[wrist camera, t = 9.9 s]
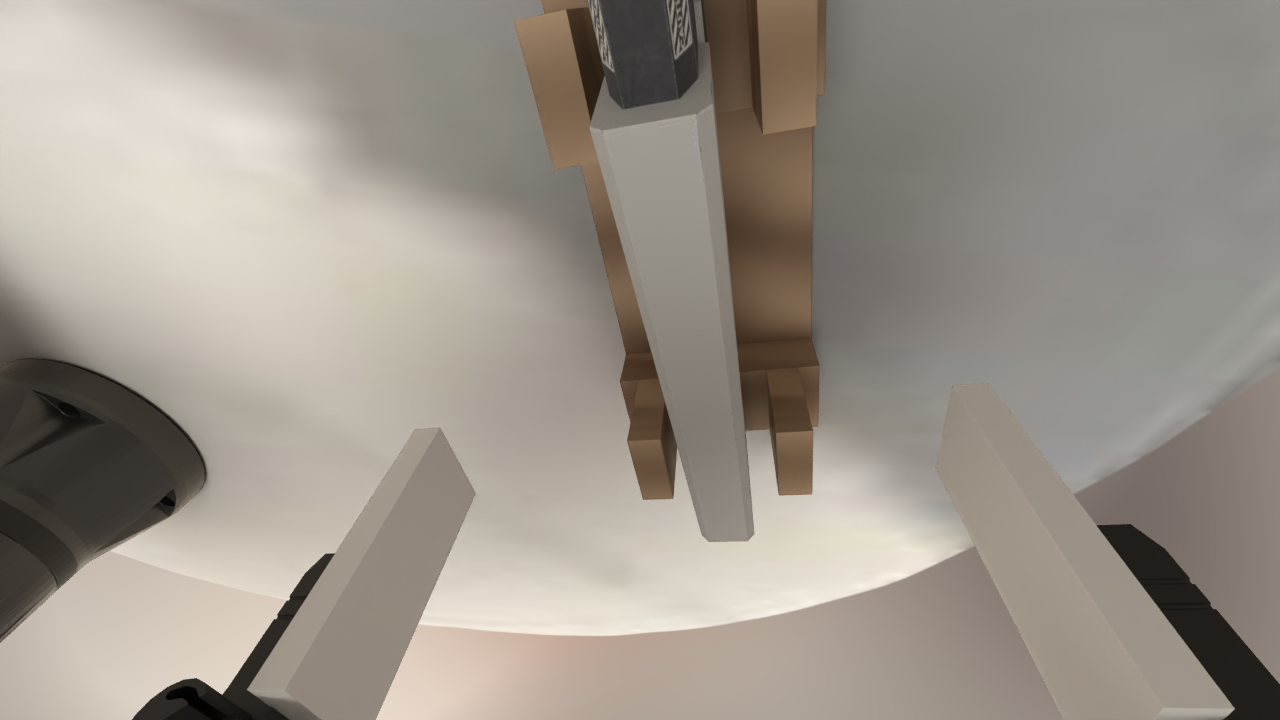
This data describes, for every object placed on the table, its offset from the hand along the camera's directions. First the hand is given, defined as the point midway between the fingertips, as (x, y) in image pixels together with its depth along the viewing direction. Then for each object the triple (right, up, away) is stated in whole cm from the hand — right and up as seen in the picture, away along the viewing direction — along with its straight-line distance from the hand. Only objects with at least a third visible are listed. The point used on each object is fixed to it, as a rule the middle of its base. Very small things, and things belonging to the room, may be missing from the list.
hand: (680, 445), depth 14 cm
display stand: (+2, +8, +12) cm, 15 cm away
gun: (+2, +6, +9) cm, 11 cm away
